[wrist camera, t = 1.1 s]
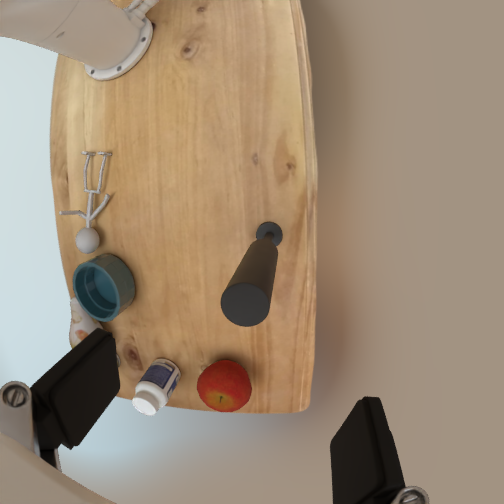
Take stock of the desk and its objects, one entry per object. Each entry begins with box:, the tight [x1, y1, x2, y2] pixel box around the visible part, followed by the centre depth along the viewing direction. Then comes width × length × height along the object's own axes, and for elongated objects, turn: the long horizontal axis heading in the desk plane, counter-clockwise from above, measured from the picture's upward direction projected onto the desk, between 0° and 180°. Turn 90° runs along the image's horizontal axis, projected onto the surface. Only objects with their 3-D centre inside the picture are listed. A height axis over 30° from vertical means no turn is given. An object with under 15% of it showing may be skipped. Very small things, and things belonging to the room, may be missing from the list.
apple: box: [197, 360, 252, 412], centre depth 37 cm, size 8×8×8 cm
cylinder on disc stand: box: [221, 222, 282, 327], centre depth 25 cm, size 3×3×20 cm
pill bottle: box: [132, 359, 180, 416], centre depth 38 cm, size 5×5×10 cm
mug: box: [69, 296, 104, 349], centre depth 39 cm, size 8×10×10 cm
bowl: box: [73, 254, 135, 322], centre depth 37 cm, size 9×9×5 cm
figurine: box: [59, 152, 112, 254], centre depth 34 cm, size 6×6×15 cm
